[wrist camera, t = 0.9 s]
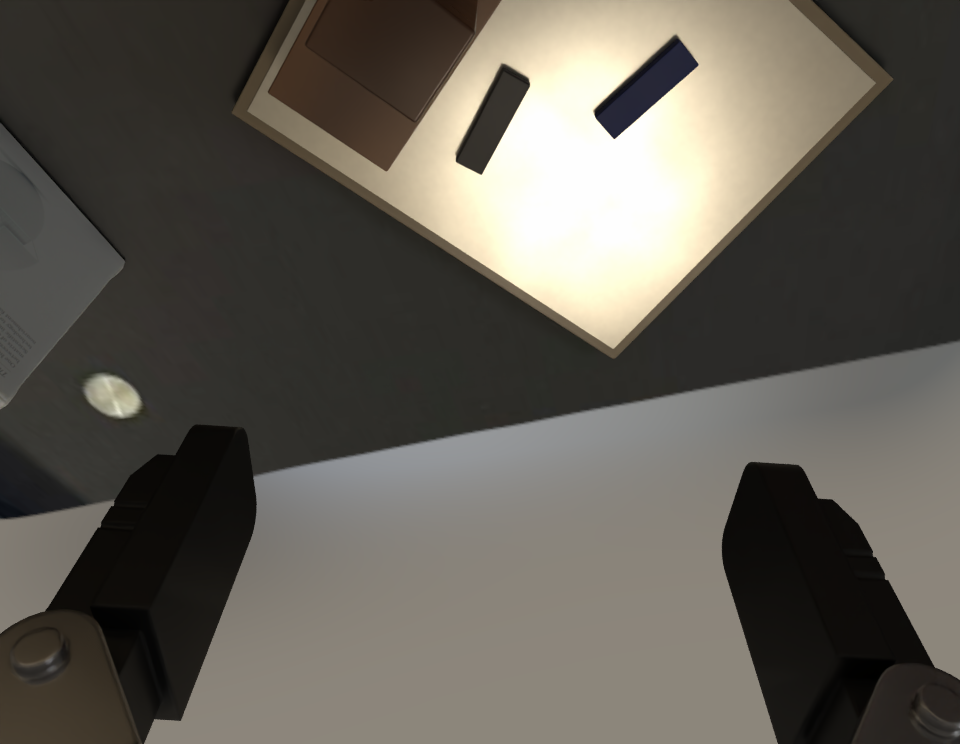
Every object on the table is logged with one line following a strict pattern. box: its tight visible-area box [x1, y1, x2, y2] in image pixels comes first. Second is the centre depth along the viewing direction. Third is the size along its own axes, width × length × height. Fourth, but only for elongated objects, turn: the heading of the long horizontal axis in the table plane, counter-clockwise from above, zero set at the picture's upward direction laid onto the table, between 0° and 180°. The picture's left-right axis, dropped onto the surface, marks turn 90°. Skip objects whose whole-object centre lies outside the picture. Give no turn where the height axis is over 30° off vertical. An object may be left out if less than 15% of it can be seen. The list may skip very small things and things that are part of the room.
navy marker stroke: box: [594, 39, 699, 139], centre depth 29 cm, size 1×4×1 cm, turn 135°
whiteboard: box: [232, 0, 893, 359], centre depth 30 cm, size 20×16×1 cm
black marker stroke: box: [456, 67, 530, 175], centre depth 30 cm, size 1×4×1 cm, turn 152°
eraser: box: [268, 0, 502, 172], centre depth 24 cm, size 5×11×8 cm, turn 144°
